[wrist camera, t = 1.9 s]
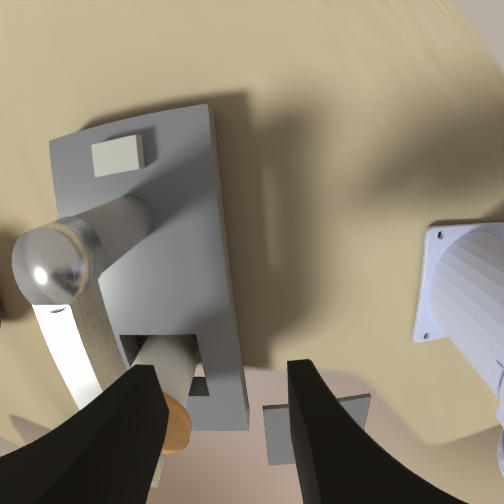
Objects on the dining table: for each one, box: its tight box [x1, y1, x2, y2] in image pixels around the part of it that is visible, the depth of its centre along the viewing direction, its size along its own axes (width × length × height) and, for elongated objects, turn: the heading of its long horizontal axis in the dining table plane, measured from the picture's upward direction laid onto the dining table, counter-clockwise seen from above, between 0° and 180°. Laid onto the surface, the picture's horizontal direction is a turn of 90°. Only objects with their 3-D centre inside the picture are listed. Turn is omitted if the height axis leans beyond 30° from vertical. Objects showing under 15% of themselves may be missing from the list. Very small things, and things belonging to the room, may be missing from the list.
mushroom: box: [131, 334, 199, 455], centre depth 16 cm, size 5×5×7 cm
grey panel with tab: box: [49, 104, 250, 431], centre depth 15 cm, size 9×20×7 cm, turn 5°
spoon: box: [12, 216, 165, 488], centre depth 10 cm, size 3×12×2 cm, turn 5°
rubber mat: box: [263, 393, 371, 465], centre depth 21 cm, size 8×8×1 cm
